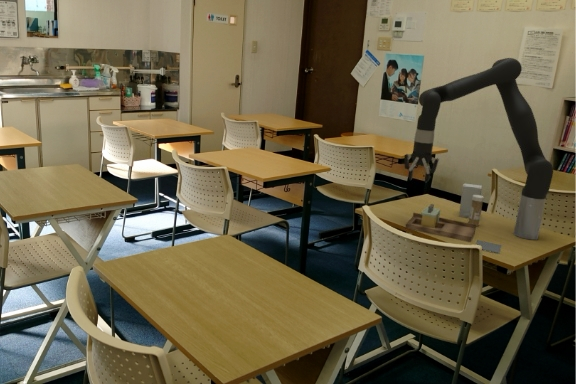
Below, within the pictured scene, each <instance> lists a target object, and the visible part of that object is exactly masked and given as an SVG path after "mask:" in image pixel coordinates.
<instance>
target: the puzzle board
mask: <svg viewBox="0 0 576 384" xmlns="http://www.w3.org/2000/svg"><path fill="white" fill-rule="evenodd" d="M421 221H422V215H421V213H417V212H413V214H412V216H411V218H409V220H408V221H407V222H406V223H405V227H404V228H405V229H407V230H411V231H417V232H421V233H425V234H430V235H435V236H440V237H445V238H449V239H450V238H451V239H455V240H458V241H463V242H469V243H471V242H472V240H473V238H474V235H475V234H476V228H477V226H476V225H475V224H470V223H469V222H463V221H458V220H453V219H448V218H445V217H444V218H443V217H439V221H438V222H436V225H435V228H432V227H427V226H422V225H421Z"/></svg>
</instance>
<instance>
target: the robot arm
mask: <svg viewBox="0 0 576 384" xmlns="http://www.w3.org/2000/svg"><path fill="white" fill-rule="evenodd" d="M522 69H523V68H522V64H521V62H520V61H519V60H518V59H516V58H512V57H505V58H501V59H499V60H496V61H495V62H494V63H493V64H492V66H491V67H490V68H487V69H486V70H485V69H484V70H483V71H479V72H478V73H475V74H470V75H468V76H467V75H466V76H464V77H461V78H459V79H455V80H453V81H451V82H448V83H446V84H444V85H439V86H436V87H432V88H429V89H426V90H424V91H423V92H422V93H420V95H419V97H418V102H419V104H420V106H421V107H422V108H421V112H420V113H421V114H420V115H419V116H418V119H417V125H416V130H415V133H414V138H413V139H414V141H413V146H412V147H413V149H412V152H411V153H406V154H404V158H403V159H404V169H405V170H408V176H407V177H408V179H409V181H412V180H413V175H414V169H415V168H416V166H422V167H424V169H425V178H424V183H425V184H427V183H428V182H429V180H430V179H431V177H430V176H431V174H434V173H435V172H436V170H437V167H438V163H439V161H440V159H439V158H435V157H433V148H434V147H433V146H434V140H435V129H436V123H437V122H436V119H437V118H438V115H439V111H440V108H441V104H442V103H444V102H451V101H455V100H457V99H460V98H463V97H465V96H468V95H470V94H472V93H475V92H477V91H480V90H482V89H485V88H488V87H491V86H496V88H497V90H498V92H499V95H500V97H501V100H502V104H503V106H504V110H505V114H506V117H507V120H508V122H509V126H510V129H511V131H512V134H513V136H514V138H515V141H516V142H517V144H518V147H519V150H520V153H521V157H522V161H523V166H524V171H525V173H526V175H527V176H526V180H525V184H524V187H522V189H521V194H520V200H519V204H518V210H517V215H516V220H515V225H514V230H513V235H514V236H516V237H518V238H522V239H527V240H536V241H537V240H538V238H539V234H540V229H541V225H542V219H543V213H544V208H545V203H546V198H547V196H548V194H549V191H550V188H551V184H552V180H553V175H554V166H553V164H552V163H551V162H550V161H549V160H547V159H546V156H545V155H544V152H543V151H542V147H541V146H540V143H539V135H538V134H539V133H538V132H539V131H538V125H537V121H536V118H535V115H534V112H533V110H532V107H531V106H530V104H529V103H528V101H527V100H526V98H525V96H524V95H523V94H522V92H521V91H520V89H519V86H518V83H517V79H518V78H519V77H520V75H521V73H522ZM410 159H412V163H411V165H410ZM430 162H432V164H433V165H432V168H431V167H430V164H429V163H430Z"/></svg>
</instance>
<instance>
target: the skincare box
mask: <svg viewBox="0 0 576 384" xmlns="http://www.w3.org/2000/svg"><path fill="white" fill-rule="evenodd" d="M482 190H483V185H479V184H471V183H463V184H462V189H461V199H460V205H459V212H458V213H459V215H458V217H460V218H468V219H469V216H470V210H471V205H472V197H473V195H480V196H482Z"/></svg>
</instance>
